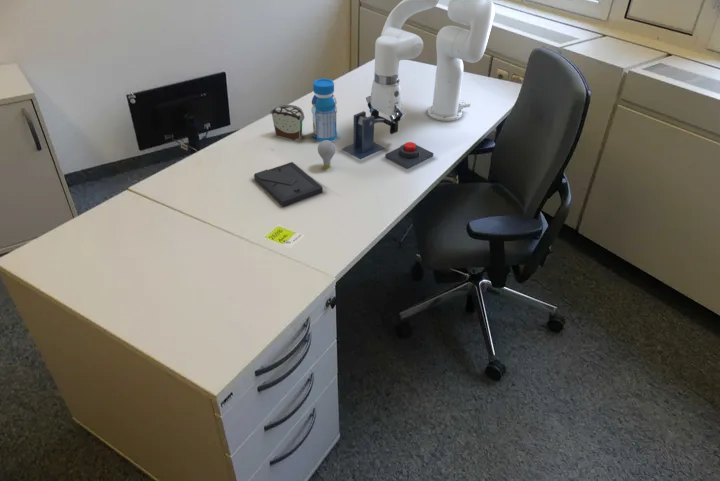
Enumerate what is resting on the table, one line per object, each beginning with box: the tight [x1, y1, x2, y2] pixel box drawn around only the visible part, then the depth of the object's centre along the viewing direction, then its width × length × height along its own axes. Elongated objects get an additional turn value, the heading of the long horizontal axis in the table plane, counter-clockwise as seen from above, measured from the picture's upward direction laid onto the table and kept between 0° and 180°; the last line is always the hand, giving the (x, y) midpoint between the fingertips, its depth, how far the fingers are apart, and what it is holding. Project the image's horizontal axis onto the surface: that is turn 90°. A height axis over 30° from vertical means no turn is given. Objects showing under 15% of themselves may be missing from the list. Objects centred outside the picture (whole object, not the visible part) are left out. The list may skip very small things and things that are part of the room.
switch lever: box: [358, 115, 392, 127], centre depth 176 cm, size 12×6×2 cm, turn 134°
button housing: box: [384, 143, 434, 170], centre depth 175 cm, size 12×10×4 cm
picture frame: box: [253, 161, 324, 208], centre depth 162 cm, size 13×2×18 cm
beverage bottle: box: [311, 78, 338, 142], centre depth 181 cm, size 8×8×20 cm
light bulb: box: [317, 140, 337, 170], centre depth 167 cm, size 5×5×10 cm
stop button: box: [404, 141, 417, 152], centre depth 173 cm, size 4×4×2 cm
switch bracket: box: [341, 110, 385, 160], centre depth 176 cm, size 11×9×13 cm
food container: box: [269, 104, 305, 141], centre depth 185 cm, size 12×6×10 cm, turn 65°
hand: (384, 127), depth 182 cm, fingers open, 8 cm apart
